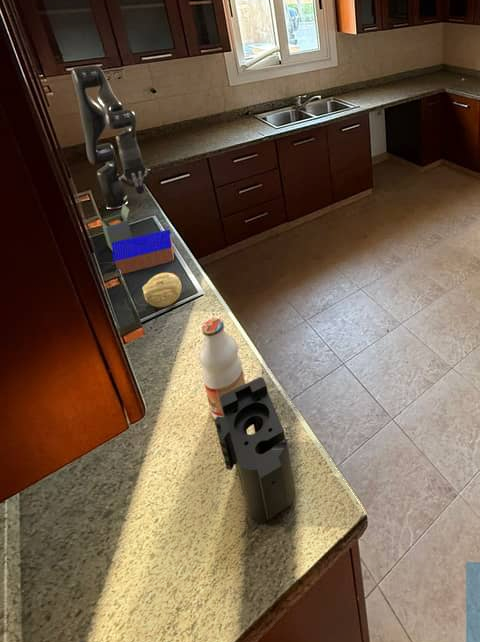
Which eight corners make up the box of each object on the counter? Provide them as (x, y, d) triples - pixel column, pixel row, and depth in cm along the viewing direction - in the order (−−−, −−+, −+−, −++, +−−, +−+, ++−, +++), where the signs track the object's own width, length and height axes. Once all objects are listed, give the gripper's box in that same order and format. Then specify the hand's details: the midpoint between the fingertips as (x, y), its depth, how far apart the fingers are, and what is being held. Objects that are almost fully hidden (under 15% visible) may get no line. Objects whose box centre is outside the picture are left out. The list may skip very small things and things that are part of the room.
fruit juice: (241, 422, 111) (224, 340, 100) (205, 422, 111) (184, 340, 100) (253, 390, 119) (238, 311, 109) (219, 390, 120) (201, 311, 109)
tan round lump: (146, 316, 146) (139, 291, 142) (149, 294, 156) (142, 270, 152) (183, 306, 151) (177, 281, 147) (184, 286, 161) (178, 262, 157)
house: (175, 260, 175) (169, 236, 171) (118, 275, 167) (110, 250, 162) (174, 246, 185) (168, 222, 181) (120, 259, 177) (113, 235, 172)
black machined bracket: (272, 435, 108) (261, 370, 99) (303, 514, 91) (293, 445, 83) (223, 462, 101) (207, 396, 93) (247, 552, 85) (230, 481, 77)
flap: (123, 204, 186) (124, 204, 186) (120, 212, 186) (121, 212, 187) (129, 210, 181) (130, 210, 181) (126, 218, 181) (127, 218, 182)
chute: (108, 245, 186) (100, 220, 181) (128, 238, 191) (121, 213, 187) (113, 253, 181) (106, 227, 176) (134, 245, 186) (127, 220, 182)
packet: (124, 241, 188) (118, 219, 184) (127, 243, 187) (121, 221, 183) (114, 245, 185) (108, 223, 181) (118, 247, 184) (111, 225, 180)
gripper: (144, 150, 187) (153, 185, 193) (110, 158, 178) (120, 195, 184) (151, 154, 182) (159, 190, 189) (115, 163, 173) (126, 201, 180)
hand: (140, 193), depth 186 cm, fingers closed
